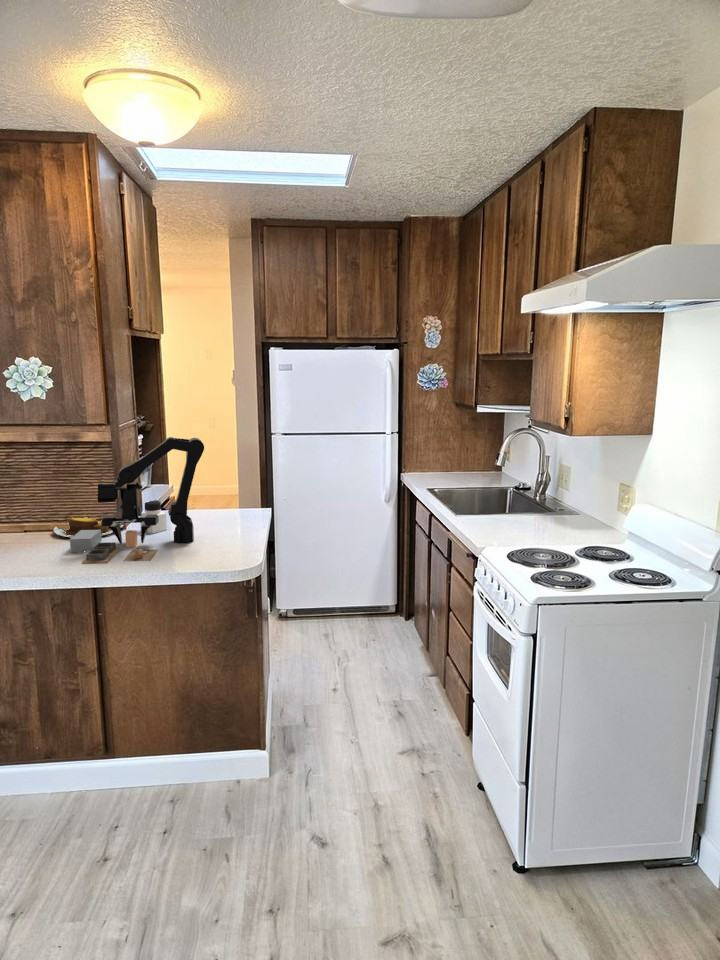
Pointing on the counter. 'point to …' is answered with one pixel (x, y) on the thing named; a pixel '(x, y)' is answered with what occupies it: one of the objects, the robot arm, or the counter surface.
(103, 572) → the counter surface
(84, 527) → the food on plate
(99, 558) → the socket board
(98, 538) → the housing
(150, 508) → the medicine bottle
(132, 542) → the tan rectangular block
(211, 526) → the counter surface
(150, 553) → the plate
